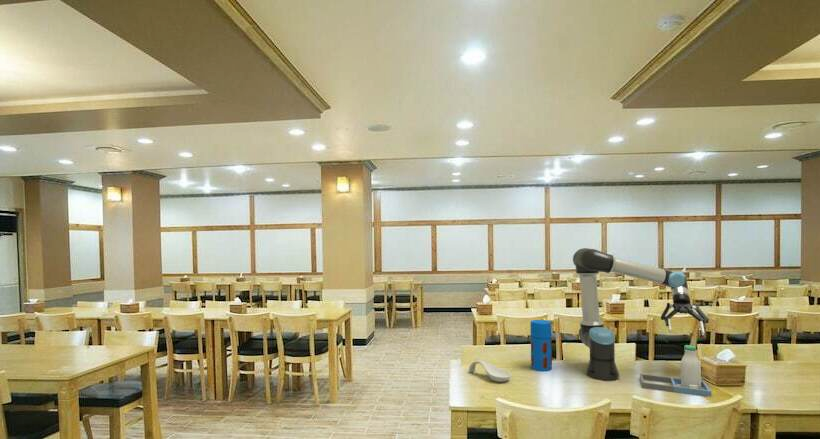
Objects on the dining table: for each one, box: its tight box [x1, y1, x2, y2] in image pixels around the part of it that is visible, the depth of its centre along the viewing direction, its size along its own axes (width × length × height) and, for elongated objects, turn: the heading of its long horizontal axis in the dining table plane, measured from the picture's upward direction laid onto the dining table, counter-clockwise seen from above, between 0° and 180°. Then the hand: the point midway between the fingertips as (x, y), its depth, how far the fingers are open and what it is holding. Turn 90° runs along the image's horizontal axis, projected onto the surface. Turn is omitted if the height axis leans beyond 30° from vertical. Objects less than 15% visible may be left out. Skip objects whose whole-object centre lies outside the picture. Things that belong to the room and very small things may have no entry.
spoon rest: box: [468, 359, 512, 383], centre depth 213 cm, size 24×12×7 cm, turn 44°
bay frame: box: [639, 373, 712, 397], centre depth 198 cm, size 27×14×4 cm, turn 65°
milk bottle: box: [680, 344, 702, 389], centre depth 195 cm, size 8×8×20 cm
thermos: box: [529, 319, 553, 372], centre depth 227 cm, size 11×11×25 cm
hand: (686, 332), depth 205 cm, fingers open, 13 cm apart
